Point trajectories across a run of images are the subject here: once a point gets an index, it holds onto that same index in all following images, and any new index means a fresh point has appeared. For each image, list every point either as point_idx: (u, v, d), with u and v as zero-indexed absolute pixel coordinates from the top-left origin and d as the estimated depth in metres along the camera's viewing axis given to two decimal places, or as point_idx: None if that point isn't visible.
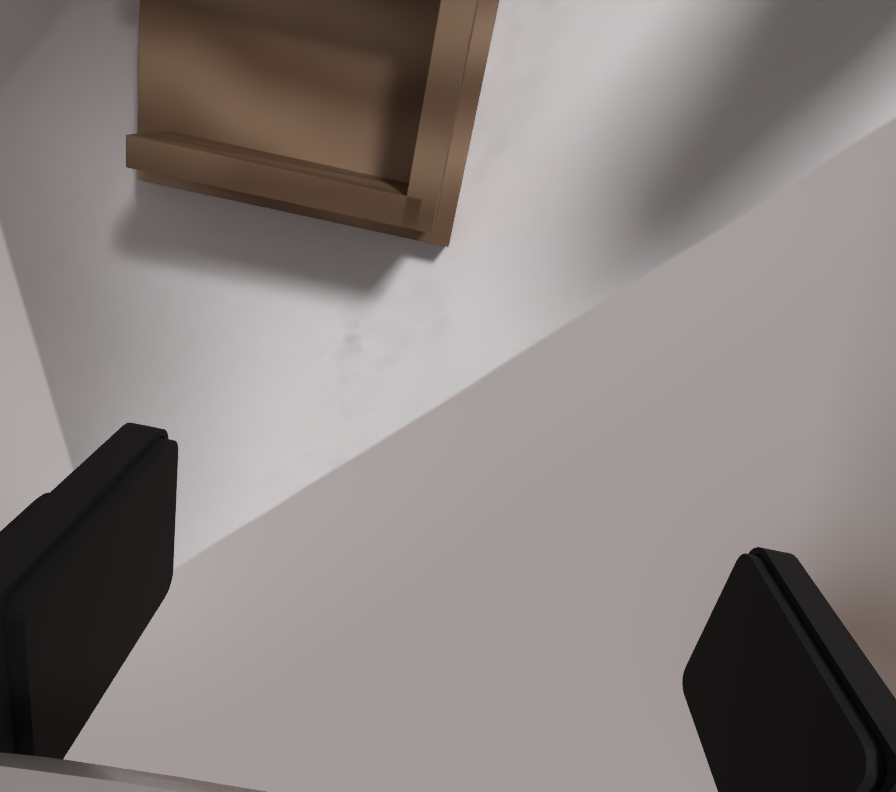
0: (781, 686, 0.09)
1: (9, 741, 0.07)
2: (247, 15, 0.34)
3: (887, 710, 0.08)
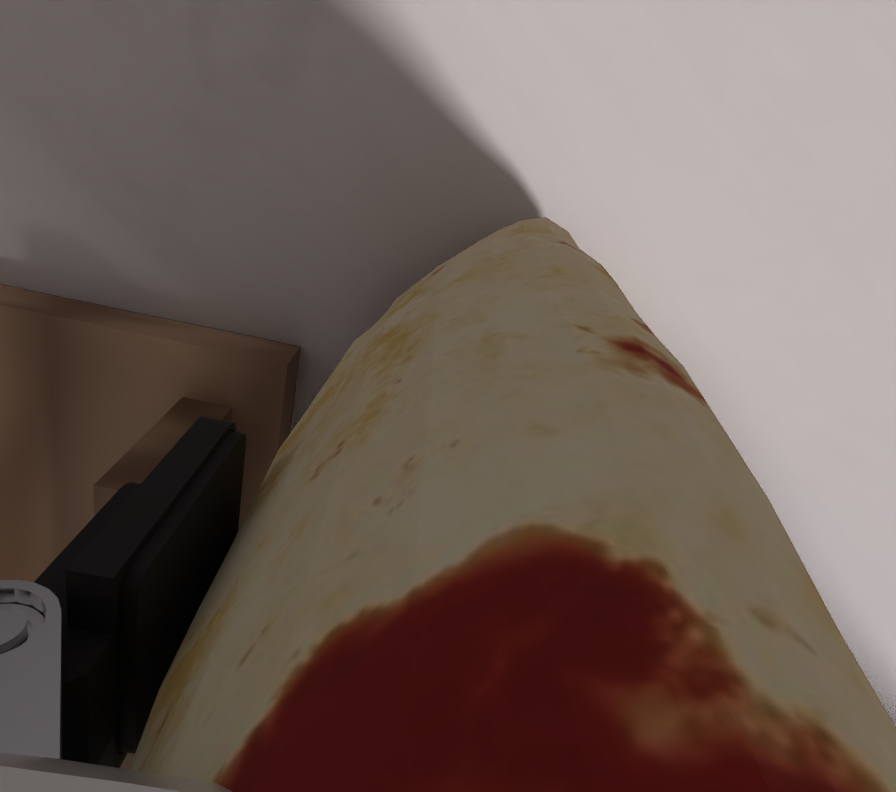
0: None
1: (115, 709, 0.08)
2: (65, 479, 0.21)
3: None
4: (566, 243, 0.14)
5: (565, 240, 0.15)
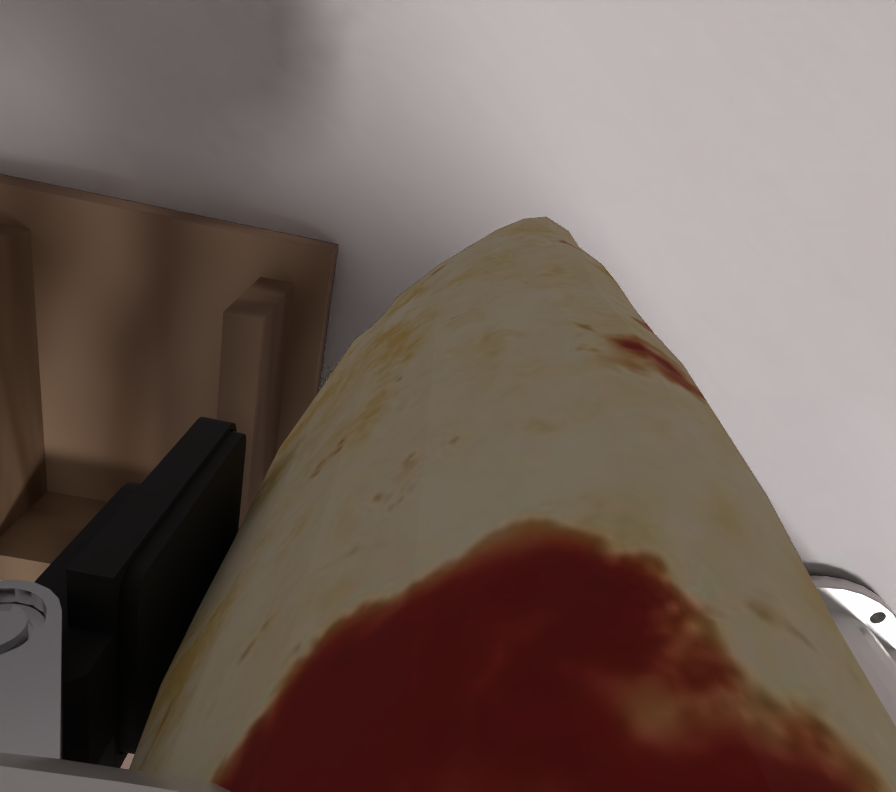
0: None
1: (115, 709, 0.08)
2: (176, 339, 0.31)
3: None
4: (566, 242, 0.14)
5: (565, 239, 0.15)
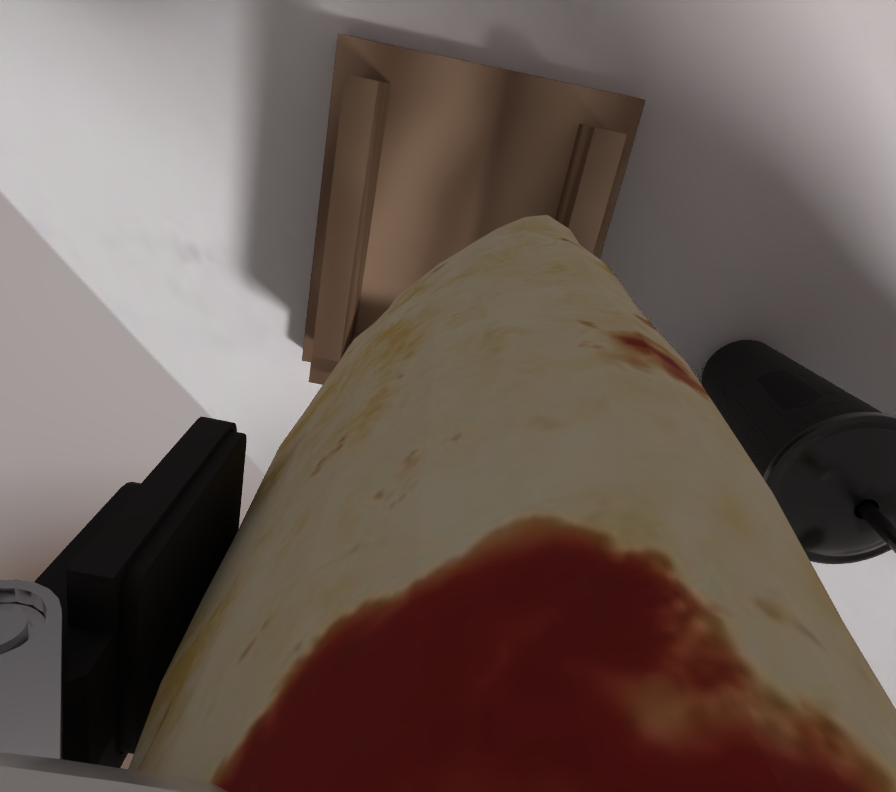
0: None
1: (115, 709, 0.08)
2: (496, 183, 0.36)
3: None
4: (568, 240, 0.14)
5: (567, 237, 0.15)
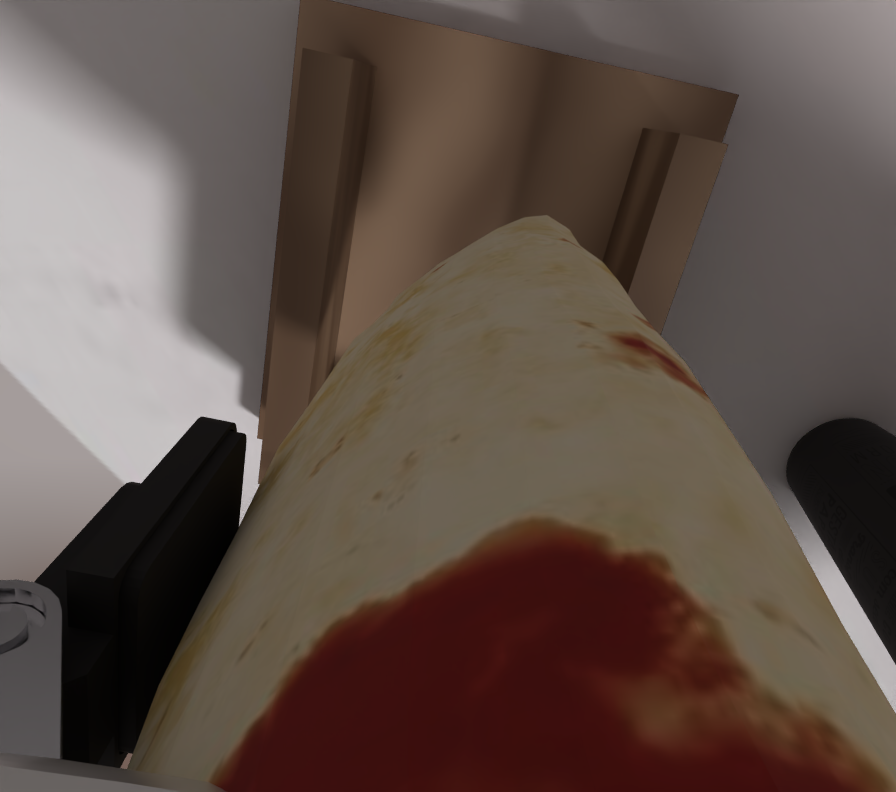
0: None
1: (115, 709, 0.08)
2: (522, 209, 0.26)
3: None
4: (567, 240, 0.14)
5: (566, 237, 0.15)
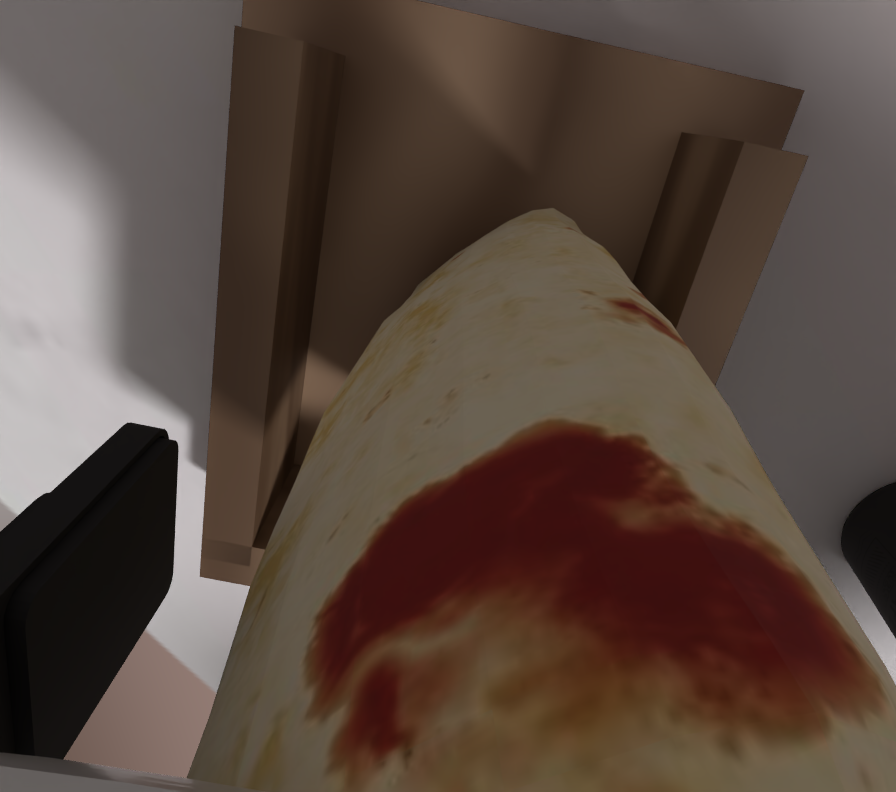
0: None
1: (9, 741, 0.07)
2: None
3: None
4: (572, 229, 0.15)
5: (571, 227, 0.17)
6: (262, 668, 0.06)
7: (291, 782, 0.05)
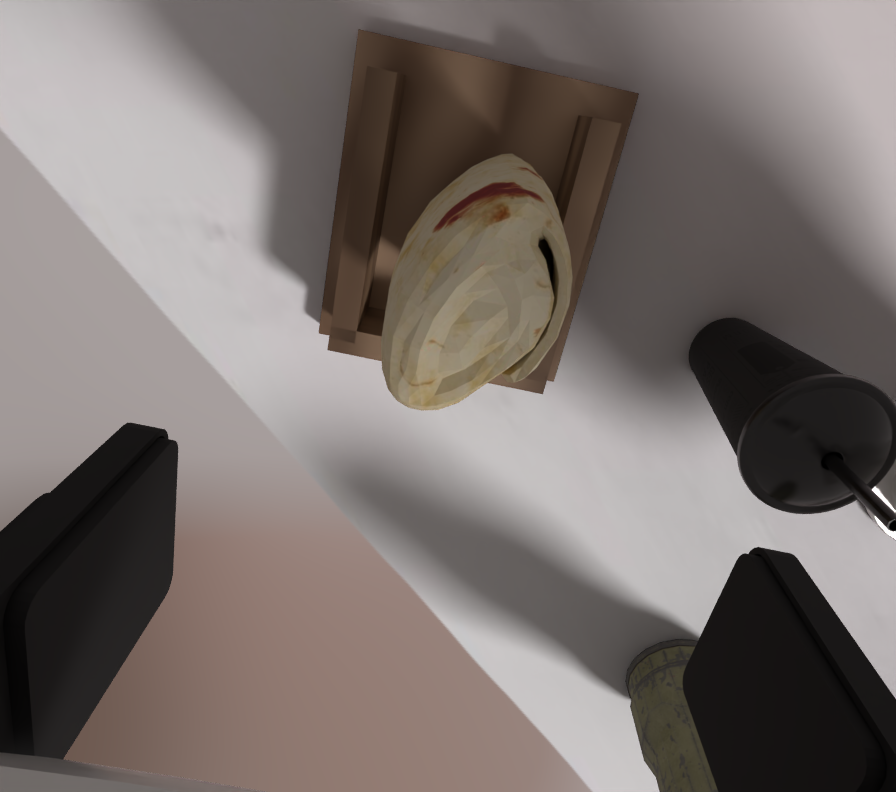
0: (781, 686, 0.09)
1: (9, 741, 0.07)
2: None
3: (887, 710, 0.08)
4: None
5: None
6: (418, 245, 0.25)
7: (436, 236, 0.23)
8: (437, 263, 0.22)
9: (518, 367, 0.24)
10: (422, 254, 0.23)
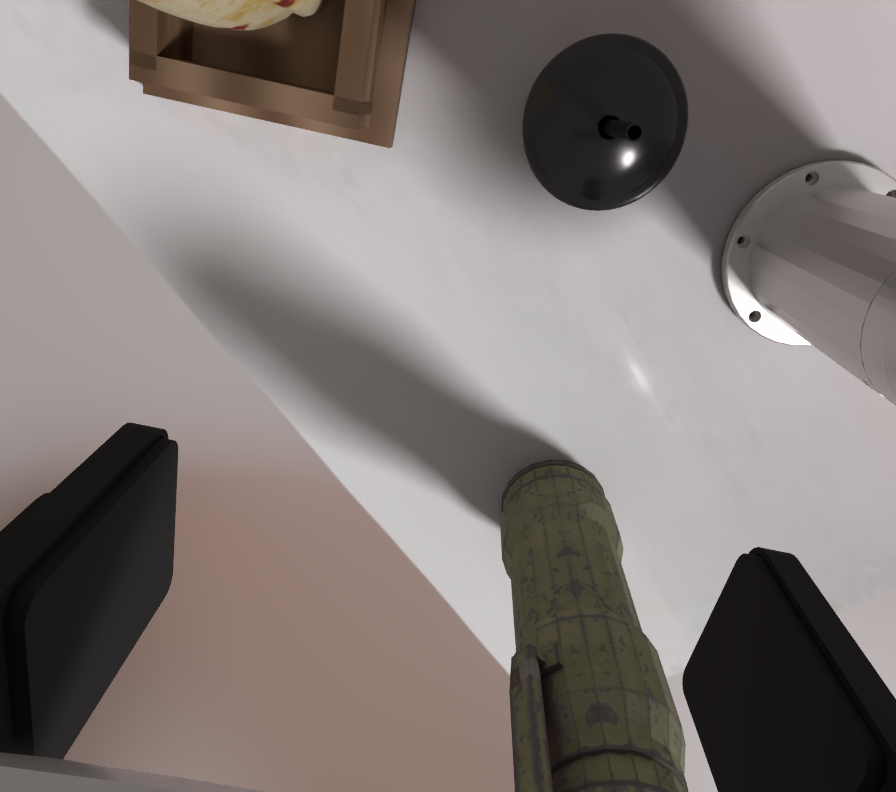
0: (781, 686, 0.09)
1: (9, 741, 0.07)
2: None
3: (887, 710, 0.08)
4: None
5: None
6: None
7: None
8: None
9: None
10: None
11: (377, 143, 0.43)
